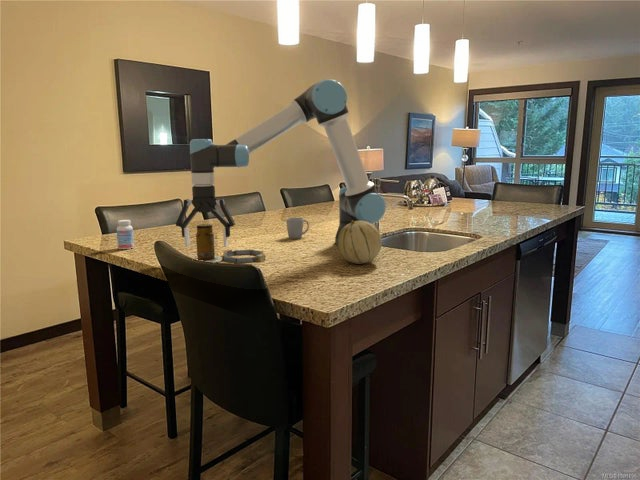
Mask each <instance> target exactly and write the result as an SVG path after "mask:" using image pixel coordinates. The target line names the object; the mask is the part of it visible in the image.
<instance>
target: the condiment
mask: <svg viewBox="0 0 640 480" xmlns="http://www.w3.org/2000/svg"><path fill="white" fill-rule="evenodd" d="M195 240H196V242H195V243H196V254H197V256H196V257H194V259H198V260H203V261H214V260H218V259H222V260H223V259H224V256H218V257H215V256H216V254H215V252H216V251H215V236H214V232H213V225H212V224H210V223H208V224H207V223H206V224H205V223H202V224H198V225H197V226H196V233H195Z"/></svg>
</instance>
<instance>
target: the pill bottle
mask: <svg viewBox="0 0 640 480" xmlns="http://www.w3.org/2000/svg"><path fill="white" fill-rule="evenodd" d="M117 224H118V226H117V227H116V239H117V248H118V249H119V250H120V249H123V251H124V249H127V250H132V249H131V248H133V249H134V248H135V240H134V239H135V238H134V228H133V226H132V225H131V219H120V220H117Z"/></svg>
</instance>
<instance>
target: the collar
mask: <svg viewBox="0 0 640 480" xmlns="http://www.w3.org/2000/svg"><path fill="white" fill-rule="evenodd" d="M237 255H239V256H240V255H241V256H242V255H253V256H252V257H251V256H249V257H234V256H237ZM223 261H224V262H228V263H235V264H241V263H244V264H245V263H254V262H258V263H259V262H260V263H261V262H264V261H266V254H265V253H264V251H262V250H256V249H238V250H232V249H230V248H229V249H228V248H227V249H224V250H223Z"/></svg>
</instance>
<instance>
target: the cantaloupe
mask: <svg viewBox="0 0 640 480" xmlns="http://www.w3.org/2000/svg"><path fill="white" fill-rule="evenodd" d="M382 243H383V242H382V236H381V234H380V231H379V230H378V228H377V227H376V226H374V225H373V224H371V223H369V222H367V221H351V223H349V224H347V225H346V226H345V227H344V228H343V229H342V230H341V231H340V233H339V236H338V244H337V246H338V247H337V248H338V251H339V252H340V254H341V256H342V257H343V258H344V259H345V260H346V261H348V262H349V263H352V264H357V265H361V264H362V265H363V264H367V263H370V262H372V261H374V259H375V258H377V257H378V255H379V253H380V251H381V248H382Z"/></svg>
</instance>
